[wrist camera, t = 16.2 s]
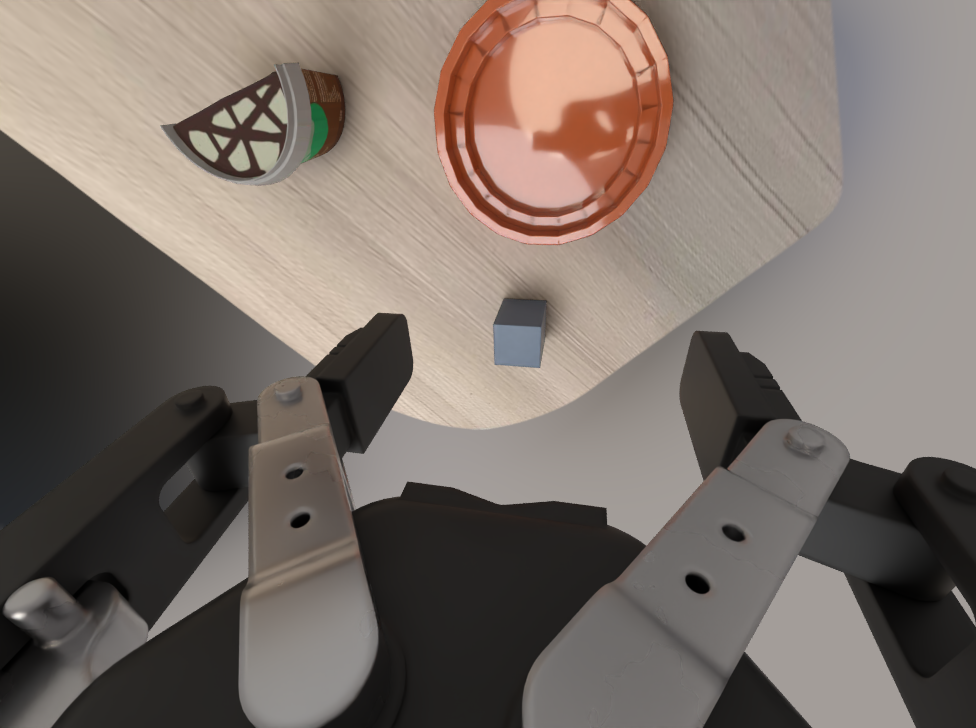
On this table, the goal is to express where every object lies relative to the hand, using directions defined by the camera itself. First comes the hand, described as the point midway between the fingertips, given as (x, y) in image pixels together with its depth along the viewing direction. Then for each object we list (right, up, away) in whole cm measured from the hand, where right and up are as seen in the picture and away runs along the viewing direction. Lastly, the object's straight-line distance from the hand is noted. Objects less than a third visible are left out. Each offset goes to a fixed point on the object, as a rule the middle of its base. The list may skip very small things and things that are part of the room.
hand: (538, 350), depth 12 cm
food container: (-18, +21, +27) cm, 39 cm away
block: (+3, +4, +33) cm, 33 cm away
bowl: (+4, +19, +23) cm, 30 cm away
